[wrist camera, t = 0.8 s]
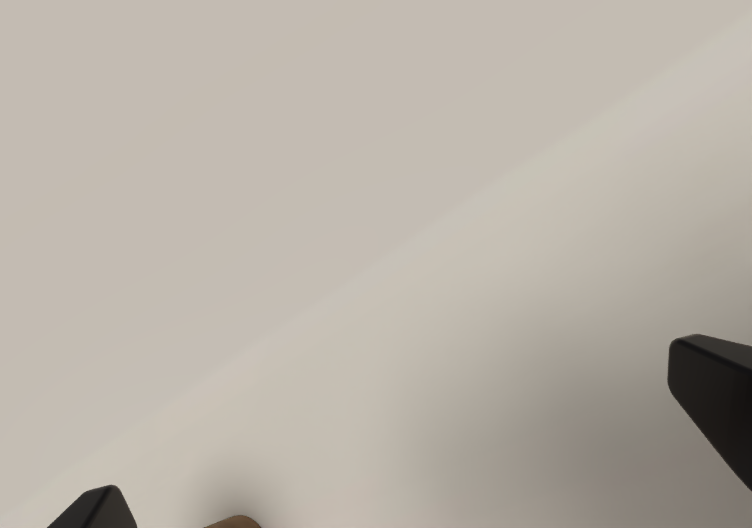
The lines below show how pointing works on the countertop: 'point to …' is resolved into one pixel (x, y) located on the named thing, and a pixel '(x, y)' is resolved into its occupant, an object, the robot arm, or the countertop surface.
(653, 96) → the countertop surface
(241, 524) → the peg
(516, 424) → the countertop surface
